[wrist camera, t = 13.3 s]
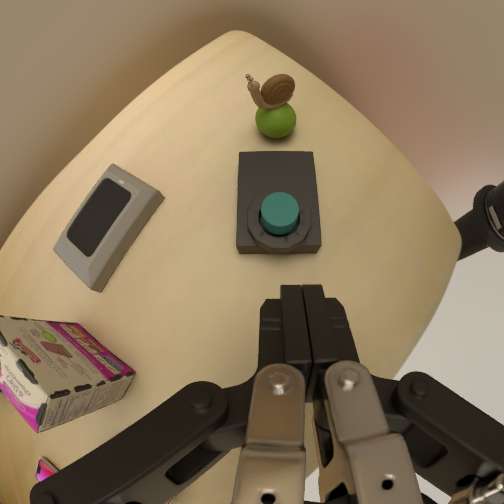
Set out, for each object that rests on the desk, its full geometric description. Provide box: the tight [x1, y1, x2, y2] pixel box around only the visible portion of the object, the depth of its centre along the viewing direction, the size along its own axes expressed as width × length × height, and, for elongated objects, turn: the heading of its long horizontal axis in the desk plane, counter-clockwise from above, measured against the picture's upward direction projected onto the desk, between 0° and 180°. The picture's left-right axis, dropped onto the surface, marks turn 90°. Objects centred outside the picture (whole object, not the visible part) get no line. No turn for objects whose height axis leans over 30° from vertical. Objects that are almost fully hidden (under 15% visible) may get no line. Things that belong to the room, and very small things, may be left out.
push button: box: [261, 192, 299, 235], centre depth 28 cm, size 4×4×3 cm
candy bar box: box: [0, 315, 136, 433], centre depth 22 cm, size 11×5×16 cm, turn 61°
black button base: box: [236, 151, 321, 254], centre depth 32 cm, size 13×9×5 cm
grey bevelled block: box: [53, 164, 164, 292], centre depth 33 cm, size 10×4×15 cm
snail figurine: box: [245, 74, 296, 138], centre depth 31 cm, size 5×6×12 cm
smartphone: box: [35, 458, 58, 482], centre depth 23 cm, size 7×1×15 cm
